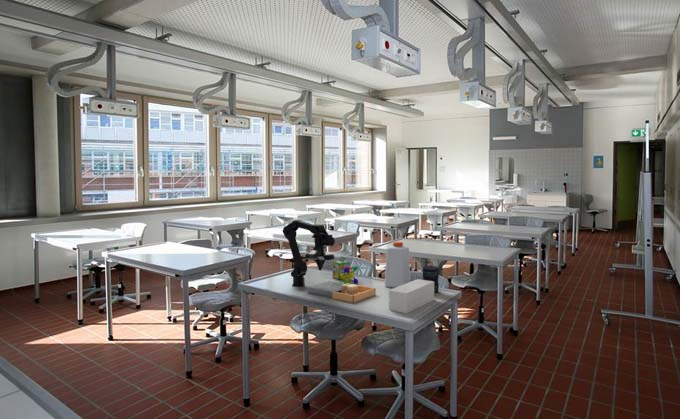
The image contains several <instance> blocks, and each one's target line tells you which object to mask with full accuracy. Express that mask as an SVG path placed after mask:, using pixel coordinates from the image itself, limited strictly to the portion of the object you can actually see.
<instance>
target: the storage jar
mask: <svg viewBox="0 0 680 419" xmlns="http://www.w3.org/2000/svg"><path fill="white" fill-rule="evenodd" d="M439 269H440V267H439V266H436V265H435V266H434V265H425V266H422V280H427V281H433V282H434V295H435V294H439V288H440V286H439V285H440V283H439V277H440V276H439V274H440V272H439V271H440V270H439Z"/></svg>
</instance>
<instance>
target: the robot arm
mask: <svg viewBox="0 0 680 419" xmlns="http://www.w3.org/2000/svg"><path fill="white" fill-rule="evenodd" d="M299 228H300V229H303V230H305V231H310V233H311V234H312V236H311V238H313V239H314V242H313V243H314V247H312V250H311V251H310V252H309V253H308V252H307V253H305V256H304V258H305V259H307V260H308V259H310V260H312V261H314V262H315V263H316V266H317V269H318V270H319V271H322V269H323V266H324V264H325V263H326V261H331V260H335V255H334V254H332V253H331V254H330V253H328V254H326V252H325V249H326V247H333V246H335V242H336V240H335V237H334V236H333V234H329V233H328V231H327V229H326V227H325V225H323V224H314V223H309V222H306V221H302V220H300V219H297V220H296V219H295V220H293V221H292V222H290V223H289V224H287V225H285V226H284V227H283V229H282V234H283V236H284V237H285V239H287V241H288V244H289V247H290V251H291V255H292V258H293V264H292V265H293V266H292V267H293V269H292V271H291V272H290V277H291V278H292V284H291V285H292V287H303V286H305V285H306V284H305V283H306V282H305V276H307V275H306V274H307V271H308V265H307V261H306V260H303V259H302V256H301V253H300V249H299V245H298V242H297V230H299Z"/></svg>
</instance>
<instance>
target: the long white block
mask: <svg viewBox="0 0 680 419" xmlns="http://www.w3.org/2000/svg"><path fill="white" fill-rule="evenodd" d="M434 300H435V294H434V282H433V281H427V280H423V279H419V278H417V279H415V280H411V282H409V283H406V284H404V285H401V286H398V287H396V288H393V287H392V288H391V289H389V290H388V310H389V311H393V312H398V313H404V314H408V313H410V312H412V311H414V310H416V309H418V308H420V307H422V306H424V305H426V304H428V303H430V302H432V301H434Z"/></svg>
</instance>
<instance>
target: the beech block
mask: <svg viewBox="0 0 680 419" xmlns="http://www.w3.org/2000/svg"><path fill="white" fill-rule="evenodd" d="M358 285H359V284H356V283H350V282H349V283H347V284H344V283H343V285H341V293H344V294H349V295H356V294H358Z"/></svg>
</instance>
